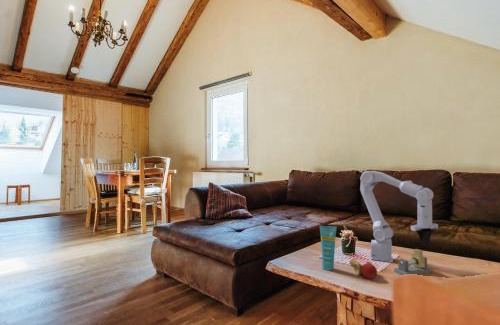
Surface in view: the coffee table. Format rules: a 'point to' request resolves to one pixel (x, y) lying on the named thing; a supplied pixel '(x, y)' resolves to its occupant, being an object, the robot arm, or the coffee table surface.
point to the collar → (418, 255)
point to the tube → (328, 246)
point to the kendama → (364, 269)
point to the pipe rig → (411, 267)
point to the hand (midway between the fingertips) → (424, 245)
